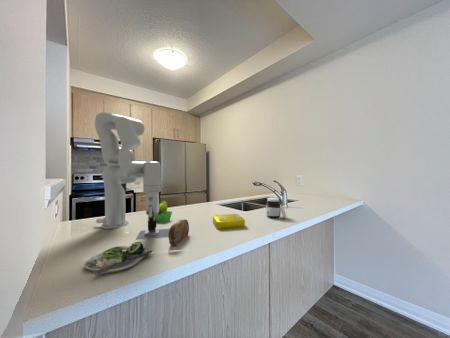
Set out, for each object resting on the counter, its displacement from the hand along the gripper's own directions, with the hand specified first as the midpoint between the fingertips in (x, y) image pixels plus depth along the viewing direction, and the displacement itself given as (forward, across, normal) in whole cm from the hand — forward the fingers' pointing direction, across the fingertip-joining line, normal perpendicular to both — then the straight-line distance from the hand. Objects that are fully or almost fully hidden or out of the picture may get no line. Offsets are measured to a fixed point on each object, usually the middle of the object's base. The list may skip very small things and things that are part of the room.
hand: (152, 228), depth 91 cm
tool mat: (+3, 0, -2) cm, 4 cm away
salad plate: (+4, -23, +7) cm, 24 cm away
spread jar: (+3, +16, -71) cm, 73 cm away
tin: (+3, -11, -12) cm, 17 cm away
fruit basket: (+3, +24, -2) cm, 24 cm away
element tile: (+4, +8, -38) cm, 39 cm away
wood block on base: (+3, 0, 0) cm, 3 cm away
